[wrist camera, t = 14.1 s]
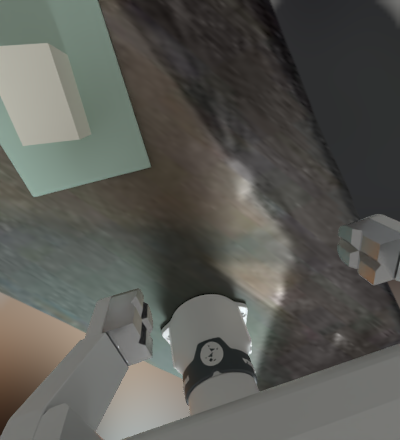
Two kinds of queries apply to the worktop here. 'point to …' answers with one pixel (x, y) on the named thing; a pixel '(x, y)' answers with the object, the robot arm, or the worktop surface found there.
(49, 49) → the card box
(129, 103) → the mat
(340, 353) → the worktop surface
